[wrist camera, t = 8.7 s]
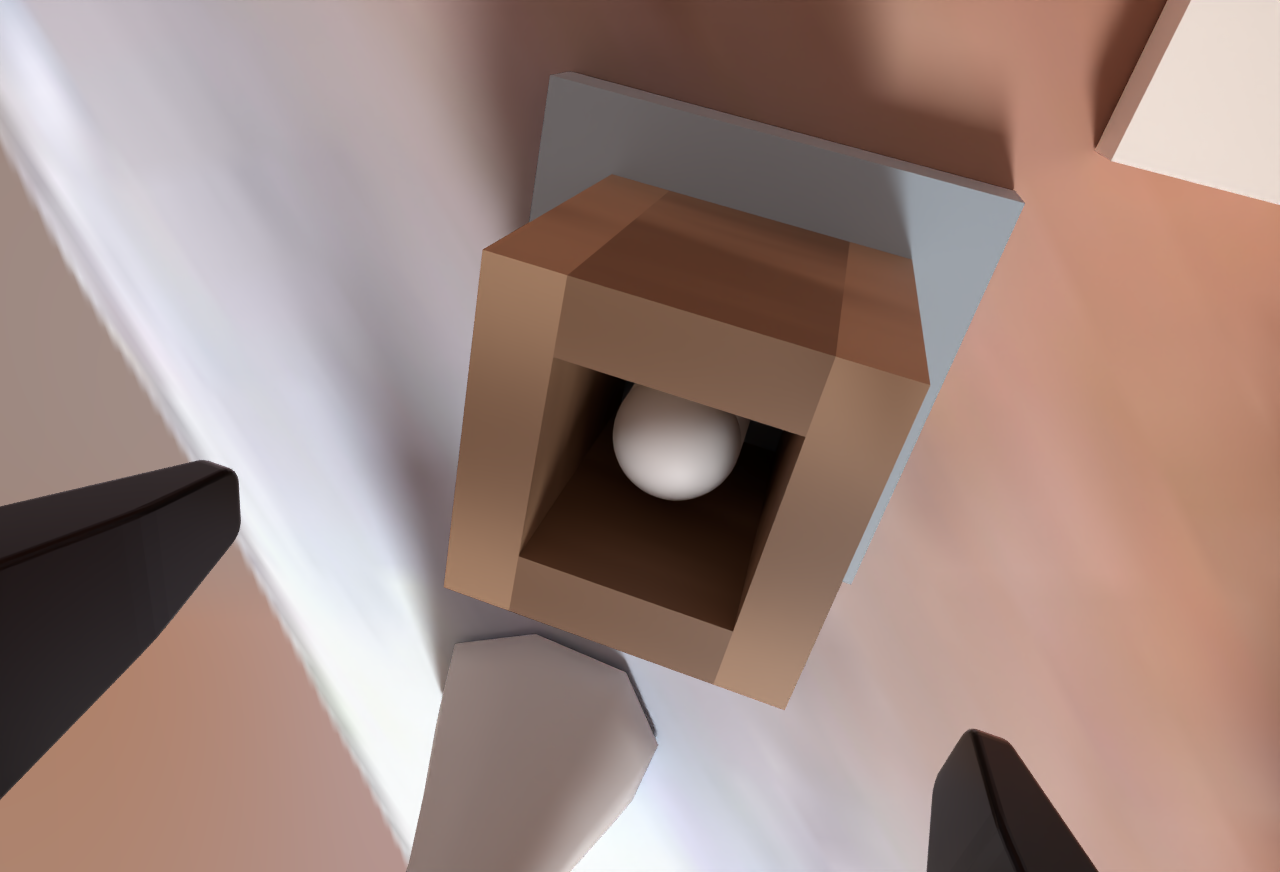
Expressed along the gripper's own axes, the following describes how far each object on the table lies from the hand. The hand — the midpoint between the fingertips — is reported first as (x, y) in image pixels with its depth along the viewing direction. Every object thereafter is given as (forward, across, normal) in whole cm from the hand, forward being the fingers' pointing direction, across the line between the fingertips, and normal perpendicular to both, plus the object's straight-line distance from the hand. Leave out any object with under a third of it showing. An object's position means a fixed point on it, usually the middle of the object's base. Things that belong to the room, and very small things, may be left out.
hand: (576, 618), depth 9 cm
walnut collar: (+9, 0, 0) cm, 9 cm away
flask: (+10, +2, +14) cm, 17 cm away
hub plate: (+10, 0, 0) cm, 10 cm away
